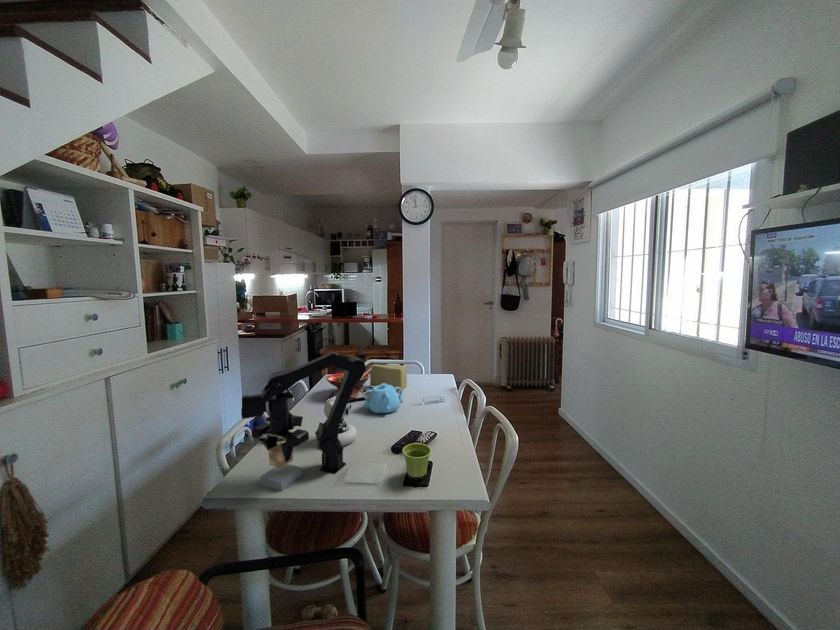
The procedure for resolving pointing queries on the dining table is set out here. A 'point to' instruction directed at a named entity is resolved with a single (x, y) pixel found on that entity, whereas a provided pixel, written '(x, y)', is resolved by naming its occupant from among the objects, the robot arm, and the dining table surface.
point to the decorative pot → (383, 398)
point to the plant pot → (416, 459)
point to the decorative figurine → (342, 424)
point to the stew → (338, 379)
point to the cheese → (389, 375)
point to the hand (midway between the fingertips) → (281, 459)
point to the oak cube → (278, 457)
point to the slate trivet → (281, 476)
